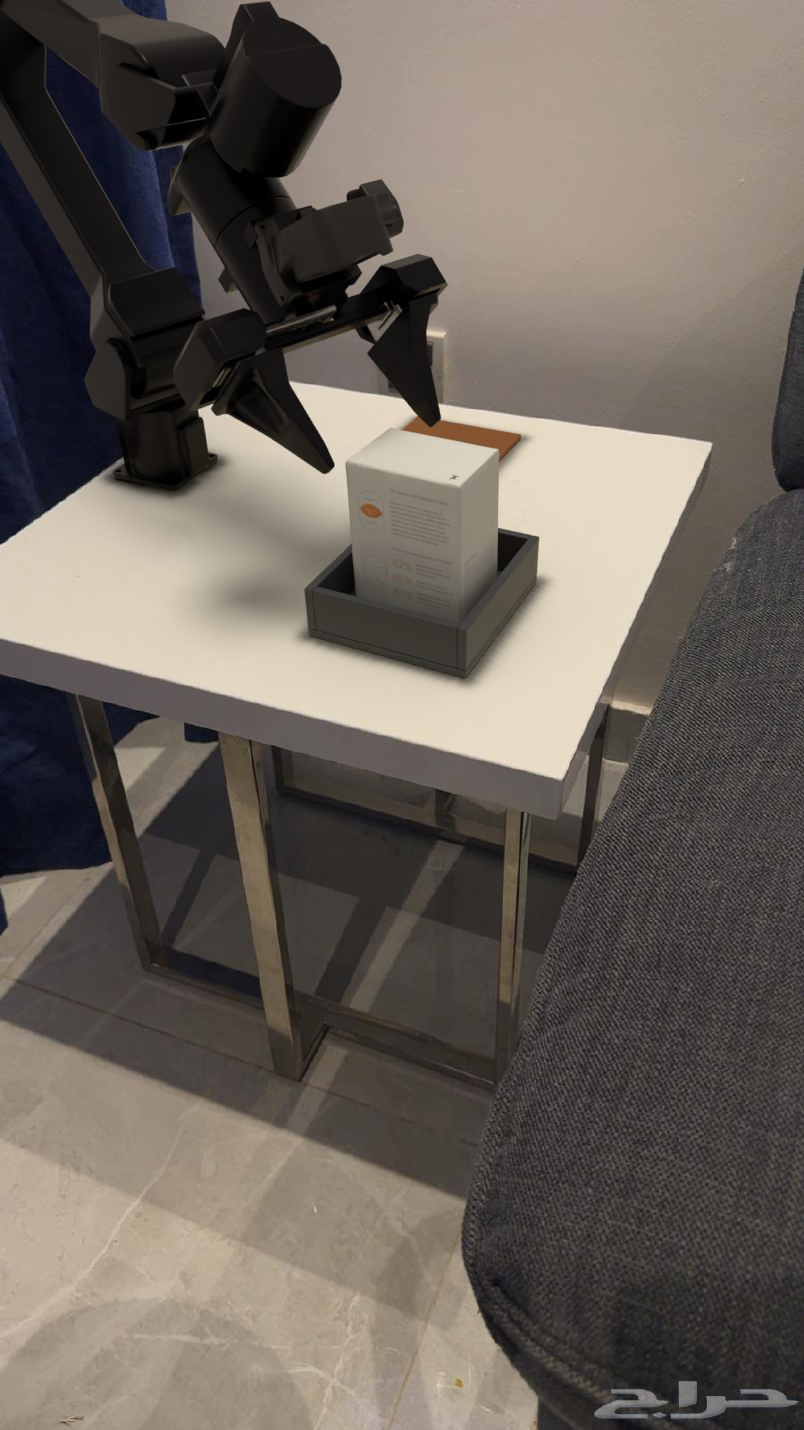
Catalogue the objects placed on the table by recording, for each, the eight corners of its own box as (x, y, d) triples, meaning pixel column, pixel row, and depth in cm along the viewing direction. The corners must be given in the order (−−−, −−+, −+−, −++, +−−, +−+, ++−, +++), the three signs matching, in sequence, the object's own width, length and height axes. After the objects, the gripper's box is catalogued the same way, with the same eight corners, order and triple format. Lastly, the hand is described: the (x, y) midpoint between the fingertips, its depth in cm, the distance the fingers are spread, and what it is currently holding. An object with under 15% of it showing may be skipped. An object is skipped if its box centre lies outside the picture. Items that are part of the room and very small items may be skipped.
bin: (308, 635, 67) (303, 588, 65) (393, 548, 76) (391, 504, 73) (465, 678, 63) (466, 630, 61) (536, 582, 72) (539, 536, 69)
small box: (498, 594, 69) (503, 448, 63) (460, 637, 66) (462, 486, 59) (395, 566, 73) (389, 424, 66) (353, 605, 69) (343, 458, 62)
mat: (371, 460, 87) (371, 455, 87) (417, 420, 93) (417, 415, 93) (480, 482, 84) (480, 477, 83) (520, 438, 90) (521, 434, 90)
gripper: (166, 165, 52) (325, 431, 53) (424, 111, 62) (556, 336, 63) (114, 294, 62) (250, 519, 62) (345, 229, 72) (461, 424, 72)
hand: (385, 446), depth 65 cm, fingers open, 9 cm apart
